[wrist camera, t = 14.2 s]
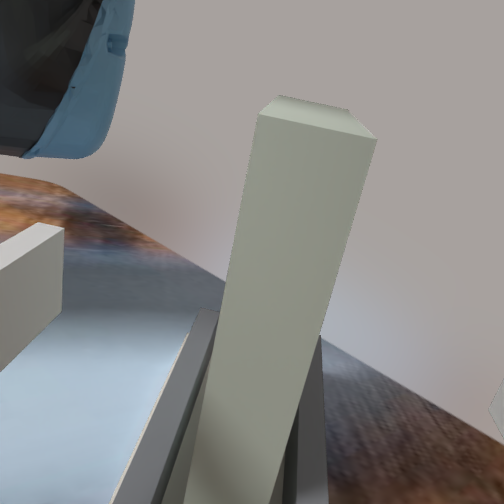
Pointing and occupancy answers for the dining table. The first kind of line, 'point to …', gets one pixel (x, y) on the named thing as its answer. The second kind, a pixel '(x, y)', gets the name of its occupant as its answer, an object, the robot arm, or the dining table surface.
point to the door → (276, 293)
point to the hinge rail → (186, 425)
